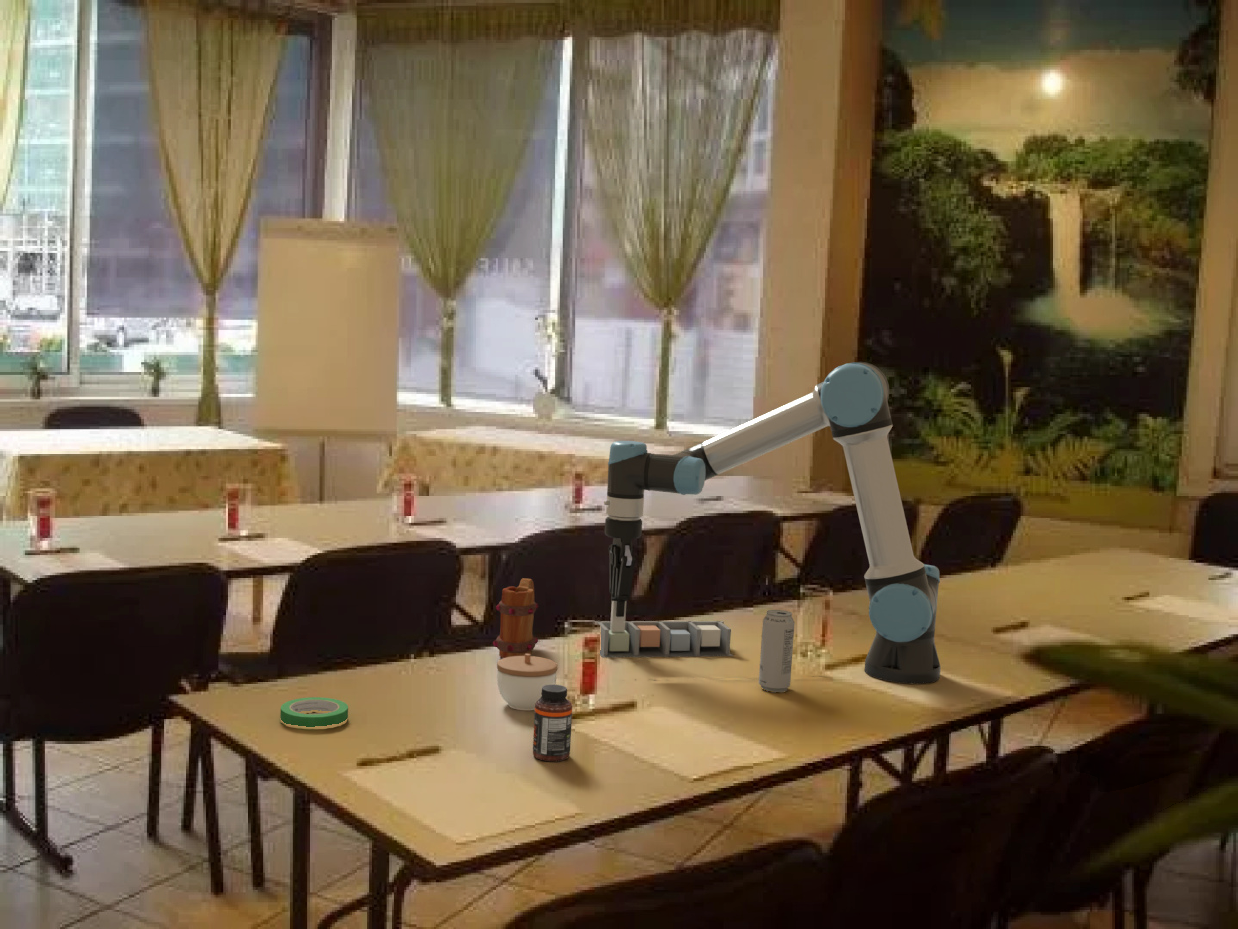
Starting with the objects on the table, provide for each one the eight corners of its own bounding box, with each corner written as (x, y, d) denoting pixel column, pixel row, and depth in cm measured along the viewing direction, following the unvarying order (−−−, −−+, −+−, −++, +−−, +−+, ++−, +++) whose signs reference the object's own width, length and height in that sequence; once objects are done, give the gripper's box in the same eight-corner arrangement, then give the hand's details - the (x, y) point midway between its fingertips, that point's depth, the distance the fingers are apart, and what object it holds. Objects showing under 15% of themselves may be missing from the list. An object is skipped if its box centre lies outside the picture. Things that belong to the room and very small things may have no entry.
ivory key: (719, 646, 296) (720, 629, 296) (701, 646, 295) (702, 629, 295) (713, 641, 300) (714, 625, 299) (695, 641, 299) (696, 625, 298)
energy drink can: (764, 683, 278) (769, 607, 276) (794, 688, 275) (799, 612, 274) (753, 690, 273) (758, 613, 271) (783, 695, 270) (789, 617, 268)
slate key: (689, 650, 294) (690, 634, 294) (670, 650, 294) (671, 634, 293) (683, 645, 298) (684, 629, 298) (665, 646, 297) (666, 629, 297)
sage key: (628, 651, 291) (629, 634, 291) (609, 651, 290) (610, 634, 290) (623, 646, 295) (624, 629, 295) (605, 646, 294) (605, 629, 294)
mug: (528, 666, 281) (531, 591, 279) (488, 661, 282) (491, 587, 281) (546, 649, 295) (550, 577, 293) (508, 645, 297) (512, 574, 295)
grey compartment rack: (733, 660, 294) (735, 630, 293) (601, 662, 287) (603, 631, 286) (718, 648, 304) (720, 619, 303) (590, 649, 297) (592, 620, 296)
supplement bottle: (531, 750, 229) (535, 681, 228) (568, 751, 230) (572, 682, 229) (532, 762, 223) (536, 692, 222) (570, 763, 224) (574, 693, 223)
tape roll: (317, 736, 231) (317, 720, 231) (266, 723, 237) (266, 707, 236) (361, 720, 241) (361, 705, 241) (311, 708, 246) (311, 693, 246)
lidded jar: (509, 717, 247) (511, 664, 246) (485, 700, 256) (488, 649, 255) (565, 711, 252) (568, 659, 251) (540, 695, 261) (542, 645, 260)
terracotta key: (659, 646, 293) (660, 630, 292) (640, 646, 292) (641, 630, 291) (654, 642, 297) (655, 625, 296) (635, 642, 296) (636, 625, 295)
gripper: (598, 511, 295) (592, 623, 298) (613, 522, 282) (607, 638, 285) (633, 512, 297) (627, 623, 299) (650, 522, 284) (643, 638, 287)
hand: (617, 630), depth 292 cm, fingers closed
